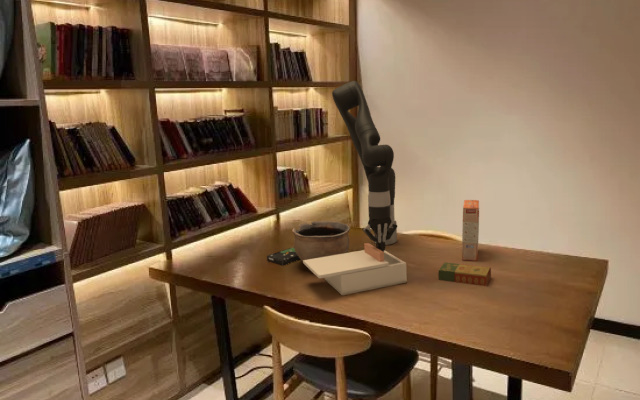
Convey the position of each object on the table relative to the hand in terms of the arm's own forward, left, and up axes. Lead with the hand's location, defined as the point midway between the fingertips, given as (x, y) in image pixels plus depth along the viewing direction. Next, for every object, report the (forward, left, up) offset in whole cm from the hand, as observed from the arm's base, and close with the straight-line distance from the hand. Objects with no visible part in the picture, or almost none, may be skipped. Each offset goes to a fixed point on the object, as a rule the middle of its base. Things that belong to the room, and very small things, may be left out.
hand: (380, 251), depth 165 cm
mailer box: (+7, 0, -10) cm, 12 cm away
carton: (-25, +14, -10) cm, 30 cm away
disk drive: (+23, -37, -10) cm, 45 cm away
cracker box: (-42, -5, -10) cm, 43 cm away
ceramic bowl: (+13, -23, -10) cm, 28 cm away
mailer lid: (+14, 0, -2) cm, 14 cm away
